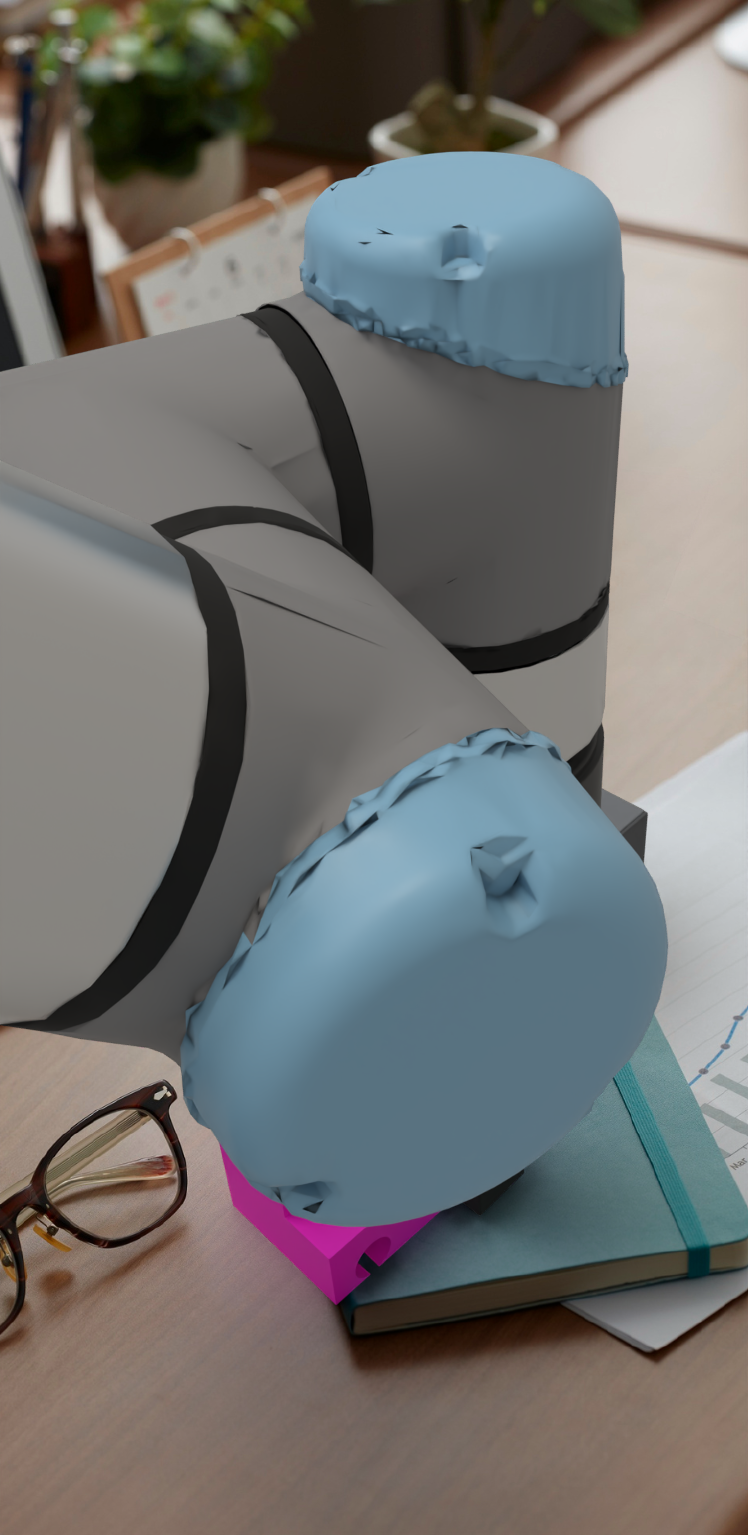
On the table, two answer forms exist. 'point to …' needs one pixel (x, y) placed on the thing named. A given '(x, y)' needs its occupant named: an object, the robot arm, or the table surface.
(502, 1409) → the table surface
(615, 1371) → the table surface
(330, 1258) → the toy block
